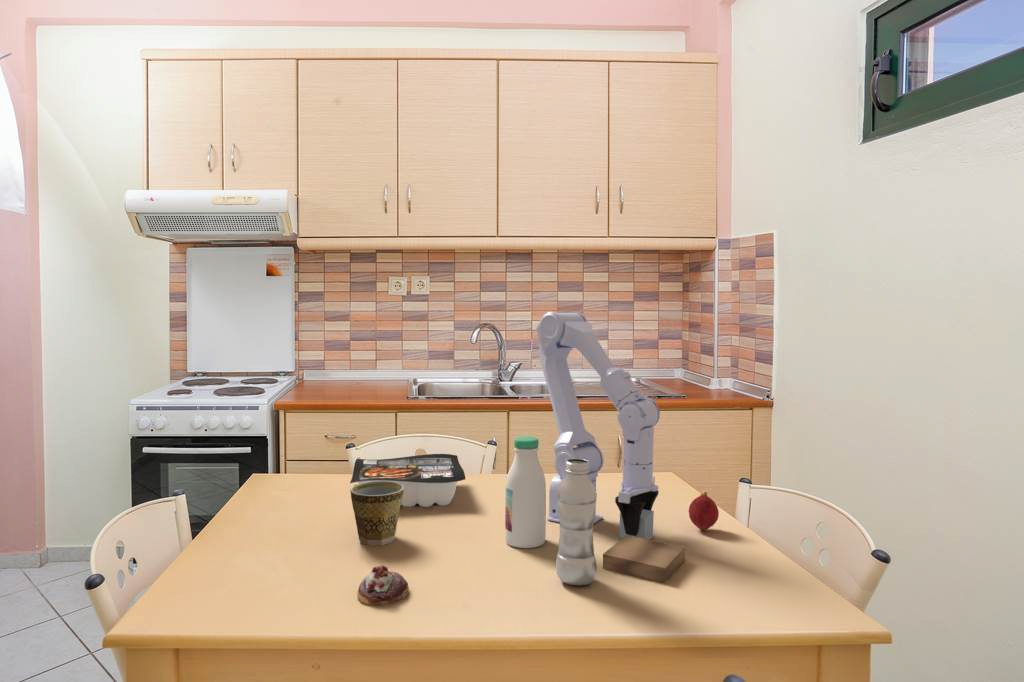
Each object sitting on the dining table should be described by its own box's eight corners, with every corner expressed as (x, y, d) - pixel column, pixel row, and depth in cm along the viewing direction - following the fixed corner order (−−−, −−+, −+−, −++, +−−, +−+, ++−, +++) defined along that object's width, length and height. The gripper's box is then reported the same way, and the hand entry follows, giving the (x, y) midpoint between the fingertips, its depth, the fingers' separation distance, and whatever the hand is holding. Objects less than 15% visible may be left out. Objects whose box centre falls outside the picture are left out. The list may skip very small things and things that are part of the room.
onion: (719, 536, 127) (720, 496, 127) (689, 534, 129) (690, 494, 128) (716, 527, 133) (717, 488, 133) (687, 524, 134) (688, 486, 134)
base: (602, 568, 112) (602, 554, 111) (626, 548, 121) (626, 535, 121) (664, 583, 106) (665, 568, 106) (684, 560, 115) (685, 547, 115)
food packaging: (349, 480, 139) (357, 455, 162) (349, 514, 140) (357, 485, 162) (465, 476, 143) (457, 452, 166) (465, 509, 144) (457, 481, 166)
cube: (619, 538, 126) (620, 513, 126) (629, 531, 130) (629, 506, 130) (644, 543, 123) (644, 518, 123) (653, 536, 128) (653, 511, 127)
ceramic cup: (414, 539, 125) (414, 487, 124) (370, 553, 117) (370, 499, 117) (374, 523, 133) (374, 475, 133) (331, 535, 126) (331, 484, 126)
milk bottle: (551, 538, 126) (552, 436, 124) (536, 552, 119) (537, 444, 117) (515, 532, 129) (516, 432, 128) (498, 545, 122) (499, 440, 121)
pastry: (360, 610, 96) (360, 577, 96) (353, 589, 103) (353, 558, 103) (413, 601, 99) (414, 569, 99) (402, 581, 106) (403, 551, 106)
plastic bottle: (585, 594, 101) (588, 468, 100) (548, 584, 105) (549, 462, 104) (602, 579, 107) (605, 460, 106) (566, 570, 110) (567, 454, 109)
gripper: (644, 472, 118) (643, 545, 118) (669, 456, 130) (668, 523, 131) (608, 467, 121) (607, 538, 122) (636, 452, 134) (635, 517, 134)
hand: (636, 530), depth 127 cm, fingers closed on cube, 5 cm apart
